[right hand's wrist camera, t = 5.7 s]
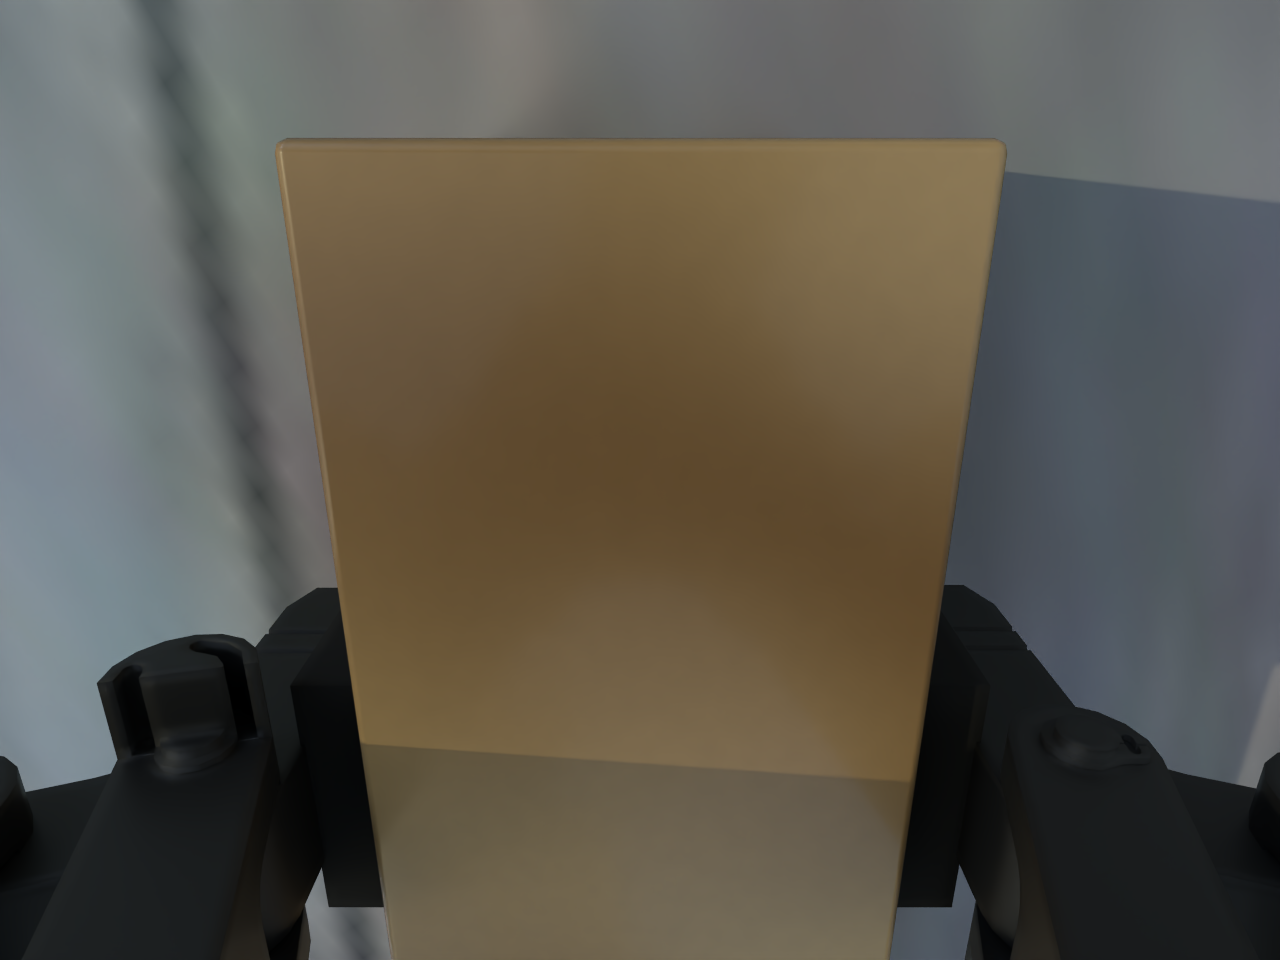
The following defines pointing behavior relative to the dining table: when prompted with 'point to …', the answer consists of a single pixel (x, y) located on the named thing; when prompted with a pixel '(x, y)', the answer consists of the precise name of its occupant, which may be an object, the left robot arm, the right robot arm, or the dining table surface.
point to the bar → (640, 522)
